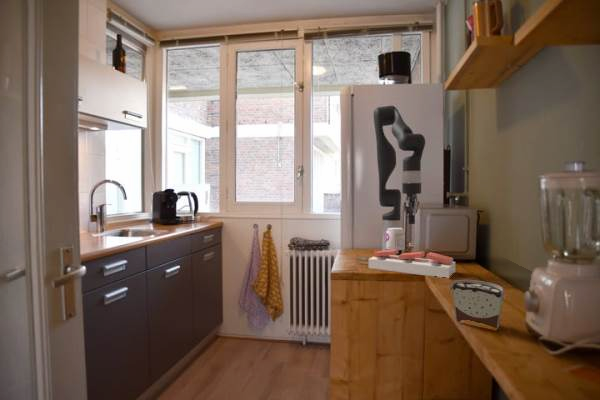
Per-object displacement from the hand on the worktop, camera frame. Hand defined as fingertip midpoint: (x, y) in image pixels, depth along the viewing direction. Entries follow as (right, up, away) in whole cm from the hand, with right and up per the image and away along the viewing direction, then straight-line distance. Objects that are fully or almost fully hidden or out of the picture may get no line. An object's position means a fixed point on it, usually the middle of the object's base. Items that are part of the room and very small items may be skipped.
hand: (411, 224), depth 144 cm
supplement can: (-1, -19, +19) cm, 27 cm away
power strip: (-4, -19, +2) cm, 19 cm away
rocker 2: (+9, -13, -6) cm, 17 cm away
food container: (-2, -21, -57) cm, 61 cm away
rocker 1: (-9, -13, +7) cm, 17 cm away
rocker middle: (0, -13, 0) cm, 13 cm away
